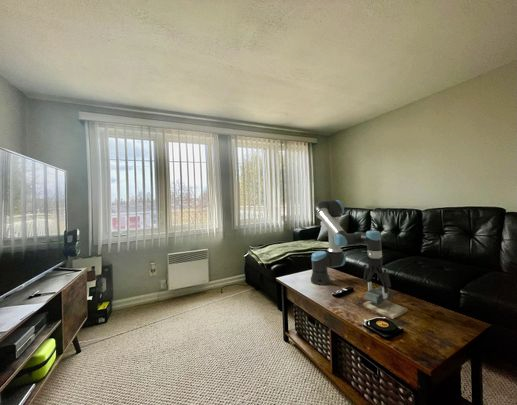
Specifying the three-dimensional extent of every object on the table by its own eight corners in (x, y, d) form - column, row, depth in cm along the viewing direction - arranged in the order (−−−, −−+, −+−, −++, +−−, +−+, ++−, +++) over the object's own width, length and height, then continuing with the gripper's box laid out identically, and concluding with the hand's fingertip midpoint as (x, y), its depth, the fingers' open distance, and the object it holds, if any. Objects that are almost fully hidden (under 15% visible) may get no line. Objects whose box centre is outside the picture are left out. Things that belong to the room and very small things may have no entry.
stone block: (363, 299, 125) (362, 290, 125) (379, 294, 130) (378, 285, 131) (377, 305, 116) (376, 295, 117) (393, 299, 122) (392, 290, 122)
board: (363, 305, 124) (363, 303, 124) (378, 299, 130) (377, 297, 130) (392, 318, 108) (392, 315, 109) (407, 311, 115) (407, 308, 115)
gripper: (355, 254, 131) (357, 290, 131) (389, 261, 112) (392, 303, 112) (363, 253, 134) (365, 288, 134) (397, 259, 116) (400, 300, 115)
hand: (377, 295), depth 123 cm, fingers closed on stone block, 8 cm apart
